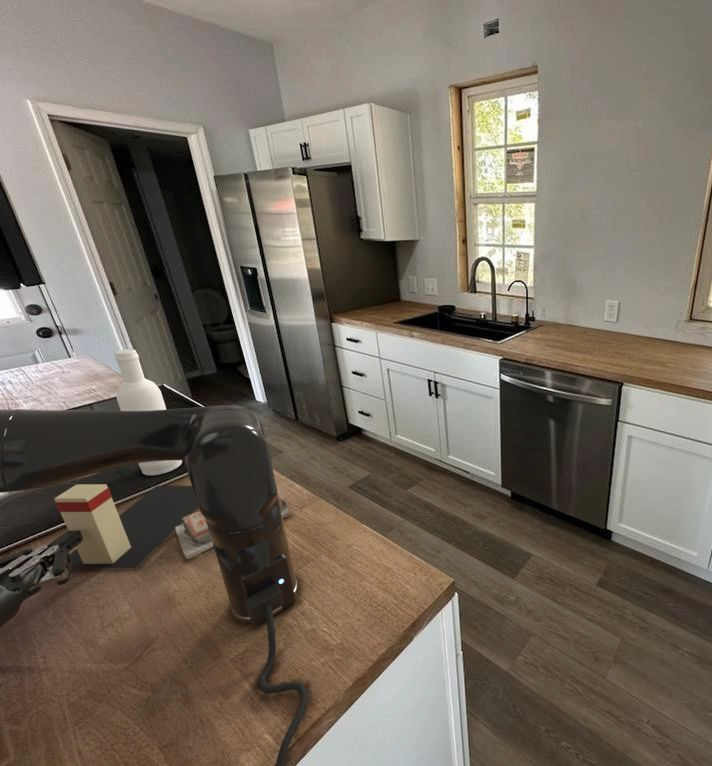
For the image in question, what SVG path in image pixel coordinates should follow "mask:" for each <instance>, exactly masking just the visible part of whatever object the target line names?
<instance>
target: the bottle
mask: <svg viewBox="0 0 712 766" xmlns="http://www.w3.org/2000/svg"><path fill="white" fill-rule="evenodd" d="M113 354H114V359H115V362H117V365H118V368H119V371H120V374H121V377H122V380H123V382H122V383H121V385H119V387H118V388H117V391H116V401H117V404H118V406H119V411H152V410H167V407H166V403H165V401H164V397H163V394H162V391H161V389H160V388H159V386H158V385H157V384H156V383H155V382H154V381H152V380H150V379H147V378H145V375H144V372H143V368H142V365H141V363H140V356H139V353H137V350H136V349H133V348H126V349H125V348H124V349H120V350H116V351H115V352H114V353H113ZM182 463H183V460H170V461H152V462H142V463H138V466H139V468H140V470H141V473H142V474H143V475H145V476H159V475H164V474H167V473H169V472H172V471H174V470H176V469H178V468H179V467H180V466H181V465H182Z"/></svg>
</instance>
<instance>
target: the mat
mask: <svg viewBox="0 0 712 766" xmlns="http://www.w3.org/2000/svg"><path fill="white" fill-rule="evenodd" d="M198 508H199V506H198V503H197V500H196V497H195V494H194V491H193V488H192V485H184V486H183V485H157V486H155V487H154V488H152V490H150V491H149V492H147V494H145V495H144V496H142V497H141V498H140V499H139V500H137V501H136V502H135V503H133V504H132V505H131V506H130V507H128V508H127V509H126V510H125V511H123V512H122V513H121V514H119V518H120V520H121V523H122V525H123V528H124V530H125V533H126V535H127V538H128V540H129V543H130V546H131V548H130V549H129V550H128V551H127V552H125V553H124V554H123V555H122V556H121V557H120V558H119V559H118V560H116V561H115V562H114V563H113V564H84V563H83V561H82V559H81V557H80V555H79V552H78V550H77V548H76V549H75V550H74V551H72V552H71V553H69V554H70V556H71V559H72V567H71V569H104V568H105V569H106V568H107V569H108V568H109V569H111V568H112V569H113V568H114V569H115V568H118V569H120V568H123V569H124V568H137V567H138V566H139V565H140V564H141V563H142V562H143V561H144V560H145V559H146V558H148V556H149V555H150V554H152V553H153V552H154V550H156V549H158V547H159V546H160V545H161V544H162V543H164V541H165V540H166V539H168V538H169V536H170V535H171V534H172V533H173V532H174V531H176V530H175V527H177V526H179V525H182V524H183V522H182V519H183V518H184V517H185V516H187V515H190V514H193V513H195V511H197V509H198Z"/></svg>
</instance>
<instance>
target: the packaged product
mask: <svg viewBox="0 0 712 766" xmlns="http://www.w3.org/2000/svg"><path fill="white" fill-rule="evenodd" d="M277 494H278V499H279V504H280V508H281V513H282V518H283V519H284V518H286V517H289V516H291V514H292V512H291V511H290V510H289V508H288V507H287V502H286V499H285V498H284V495H283V494H282V493H281V492H280V491H279V490H278V489H277ZM182 522H183V523H181V524H180V525H179V526H177V527H175V530H174V531H175V533H176V536H177V537H178V541H179V545H180V548H181V551H182V553H183V555H184V557H185V558H186V560H190V559H192V558H194V557H196V556H198V555H201V554H202V553H203V552H206V551H208V550H209V549H212V548H214V546H213V543H212V539H211V536H210V532H209V529H208V526H207V523H206V520H205V518H204V517H203V515H202V514H201V512H200V510H199V511H196V512H195V511H194V512H193V513H192V514H190V515H187V516H185V517H184V518H183V519H182Z"/></svg>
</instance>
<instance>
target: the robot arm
mask: <svg viewBox="0 0 712 766" xmlns="http://www.w3.org/2000/svg"><path fill="white" fill-rule="evenodd" d="M268 445H269V444H268V442H267V439H266V435H265V431H264V427H263V425H262V422H261V420H260V419H259V418H258V417H257V415H255V414H254V413H253V412H251V410H248V409H246V408H243V407H240V406H236V405H228V404H227V405H226V404H225V405H223V404H222V405H221V404H220V405H207V406H194V407H183V408H182V407H181V408H169V409H168V408H167V409H166V410H152V411H121V410H107V409H106V410H105V409H104V410H100V409H99V410H97V409H93V410H92V409H91V410H90V409H31V408H30V409H29V408H27V409H26V408H25V409H23V408H21V409H19V408H18V409H12V408H11V409H10V408H8V409H7V408H4V409H3V408H2V409H1V408H0V494H2V493H15V492H16V493H17V492H23V491H31V490H32V491H33V490H39V489H44V488H49V487H53V486H57V485H62V484H65V483H69V482H72V481H76V480H80V479H83V478H86V477H89V476H93V475H97V474H99V473H104V472H106V471H109V470H113V469H116V468H117V469H118V468H121V467H124V466H129V465H130V466H131V465H134V464H139V463H142V462H152V461H170V460H182V461H184V465H185V468H186V472H187V475H188V478H189V482H190V486H192V488H193V491H194V494H195V497H196V500H197V503H198V506H199V507H198V508H199V511H200V512H201V514H202V515H203V517H204V518H205V520H206V523H207V526H208V529H209V532H210V536H211V539H212V543H213V546H214V547H213V548H214V553H215V555H216V559H217V563H218V566H219V570H220V573H221V576H222V580H223V583H224V587H225V590H226V593H227V596H228V600H229V603H230V609H231V612H232V616H234V618H235V619H236V620H238V621H241V622H244V623H252V625H253V626H254V627H256V626H258V625H260V624H262V623H263V622H265V621H266V627H267V639H268V640H267V641H268V643H267V644H268V654H267V660H266V663H265V666H264V669H263V670H262V672H261V673H260V675H259V677H258V680H257V687H258V690H259V691H260V692H262V693H265V694H276V693H281V692H286V691H296V692H297V693H298V695H299V699H300V700H299V706H298V709H297V710H296V713H295V716H294V717H293V719H292V721H291V723H290V725H289V727H288V728H287V731H286V733H285V735H284V737H283V739H282V741H281V744H280V746H279V750H278V754H277V757H276V763H275V766H285V765H286V758H287V753H288V750H289V747H290V745H291V743H292V739H293V738H294V735H295V733H296V731H297V729H298V727H299V725H300V723H301V721H302V719H303V717H304V714H305V712H306V710H307V706H308V703H309V702H308V701H309V696H308V690H307V688H306V685H304V684H303V683H302V682H299V681H288V682H284V683H279V684H278V683H277V684H272V685H271V684H267V682H266V680H267V678H268V676H269V674H270V672H271V670H272V669H273V667H274V664H275V660H276V652H277V641H276V627H275V620H274V616H276V615H278V614H279V613H280V612H282V611H284V610H285V609H287V608H289V607H291V606H292V605H294V604H295V603H296V602H297V599H296V595H297V593H298V587H299V586H298V584H299V583H298V580H297V577H296V575H295V569H294V565H293V561H292V556H291V551H290V546H289V542H288V538H287V533H286V527H285V524H284V518H282V513H281V508H280V504H279V499H278V494H277V490H278V487H277V483H276V478H275V473H274V469H273V464H272V460H271V453H270V449H269V446H268ZM82 541H83V536H82V534H81V532H80V531H79V530H67V531H66V532H63V533H62V534H61V535H59V536H57V537H56V538H55V539H54V540H53V541H51V542H50V543H47V544H45V545H41V546H39V547H38V548H36V549H33V548H31V547H30V548H29V547H28V548H25V549H23V550H20V551H18V552H16V553H13V554H10V555H8V556H5V557H3V558H0V629H1V628H2V627H3V626H4V625H6V624H7V623H9V621H11V620H12V619H13V618H14V617H15V616H16V615H17V614H18V612H19V611H20V608H21V606H22V604H23V602H24V601H25V600H28V599H29V598H31V597H32V596H34V595H36V594H38V593H39V592H40V591H41V590H42V589H43V587H45V586H48V585H51V584H55V583H57V586H63V585H65V584H67V583H68V582H69V581H70V578H71V572H72V568H71V567H72V559H71V556H70V554H71V553H70V552H71V551H72V550H73V549H75V548H76V546H77V545H78V544H80V543H81V542H82Z"/></svg>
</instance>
